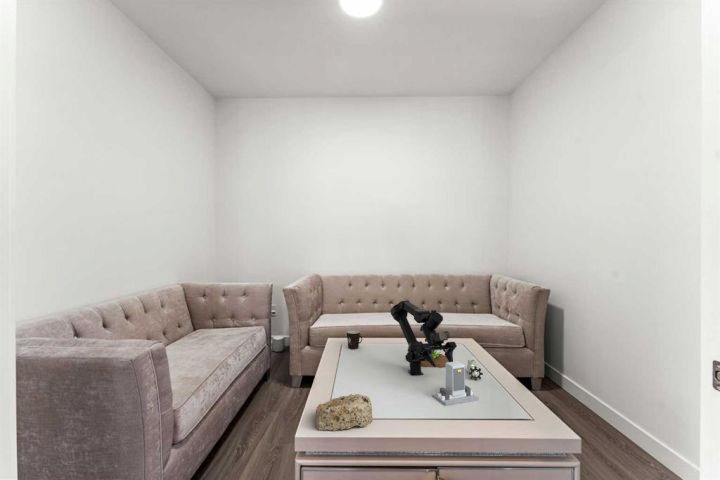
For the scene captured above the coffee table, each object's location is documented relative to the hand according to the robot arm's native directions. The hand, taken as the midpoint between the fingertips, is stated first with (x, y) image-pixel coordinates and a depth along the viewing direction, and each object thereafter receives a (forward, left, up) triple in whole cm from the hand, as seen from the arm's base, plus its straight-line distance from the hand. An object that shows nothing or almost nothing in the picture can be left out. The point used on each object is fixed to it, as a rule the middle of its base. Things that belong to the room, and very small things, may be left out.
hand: (444, 365), depth 160 cm
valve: (-16, +22, -11) cm, 29 cm away
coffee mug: (-74, -29, -11) cm, 81 cm away
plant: (-41, +9, -12) cm, 44 cm away
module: (+8, +2, -9) cm, 12 cm away
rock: (+21, -46, -12) cm, 52 cm away
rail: (+8, +2, -11) cm, 14 cm away
